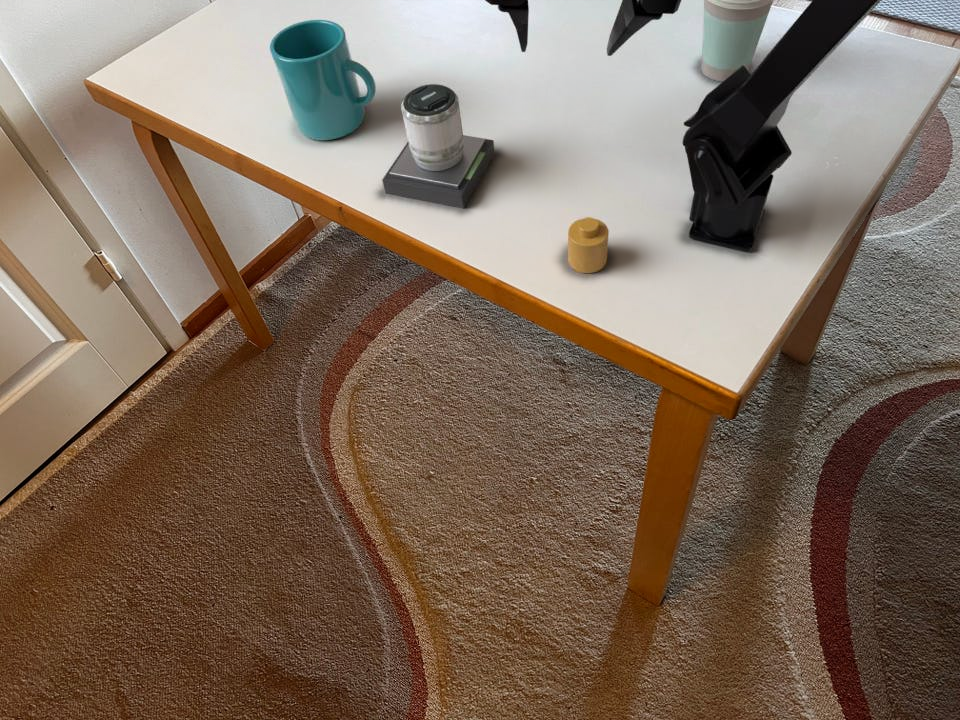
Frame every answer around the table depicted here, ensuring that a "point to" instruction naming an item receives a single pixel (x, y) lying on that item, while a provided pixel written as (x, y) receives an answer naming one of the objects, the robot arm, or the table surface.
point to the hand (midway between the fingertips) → (566, 51)
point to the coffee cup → (731, 35)
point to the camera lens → (433, 126)
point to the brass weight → (587, 245)
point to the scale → (441, 175)
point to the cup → (321, 79)
